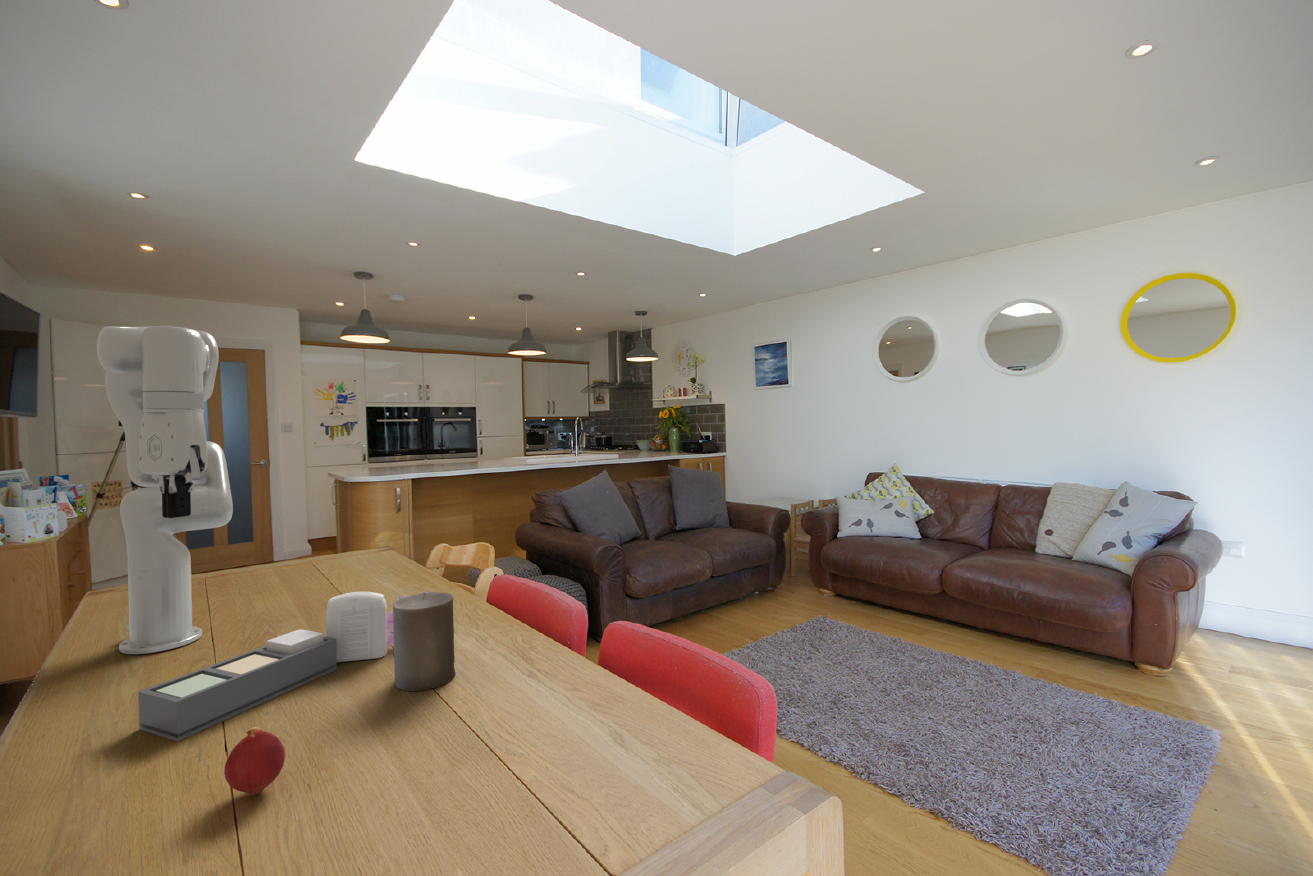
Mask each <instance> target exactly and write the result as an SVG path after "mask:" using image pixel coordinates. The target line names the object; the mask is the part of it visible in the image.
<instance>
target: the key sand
mask: <svg viewBox="0 0 1313 876" xmlns="http://www.w3.org/2000/svg"><path fill="white" fill-rule="evenodd" d="M276 660H279V659H275V658H270V657H265V656H261V655H256V654H254V655H251V656H249V657H246V658H243V659H241V660H238V661H235V662H232V663H230V664H227V665H224V666H222V667H219V668H216V669H218V670H222V671H226V672H231V673H235V674H239V675H241V674H243V673H246V672H248V671H251V670H254V669H256V668H259V667H261V666H264V665H266V664H269V663H271V662H274V661H276Z"/></svg>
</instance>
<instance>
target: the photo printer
mask: <svg viewBox="0 0 1313 876" xmlns="http://www.w3.org/2000/svg"><path fill="white" fill-rule="evenodd" d="M387 607H388V606H387V601H386V596H385V594H383V593H379V592H372V591H352V592H348V593H347V592H346V593H343V594H338V595H336V596H334V597H331V598H329V599H328V601H327V606H326V610H325V637H329V638H334V639H336V646H337V663H341V662H352V661H354V662H355V661H361V660H362V661H364V660H373V659H382V658H383V656H384V657H386V655H387V653H388V652H387V651H388V648H387V635H388V631H387V612H388V611H387V609H388V608H387ZM381 657H382V658H381Z"/></svg>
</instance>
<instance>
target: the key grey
mask: <svg viewBox="0 0 1313 876" xmlns="http://www.w3.org/2000/svg"><path fill="white" fill-rule="evenodd" d="M324 635H325V634H324V633H323V632H318V631H311V630H309V629H307V630H306V629H301V628H300V629H296V630H292V631H291V632H287V633H286V634H282V635H279V636H276V637H274V638H270V639H268V640H266V645H267V650H269V651H274V652H279V653H284V654H289V655H292V654H294V653H297V652H299V651H302V650H304V649H307V648H310V647H312V646H315V645H317V644H320V643H322V642H324V637H325V636H324Z"/></svg>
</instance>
